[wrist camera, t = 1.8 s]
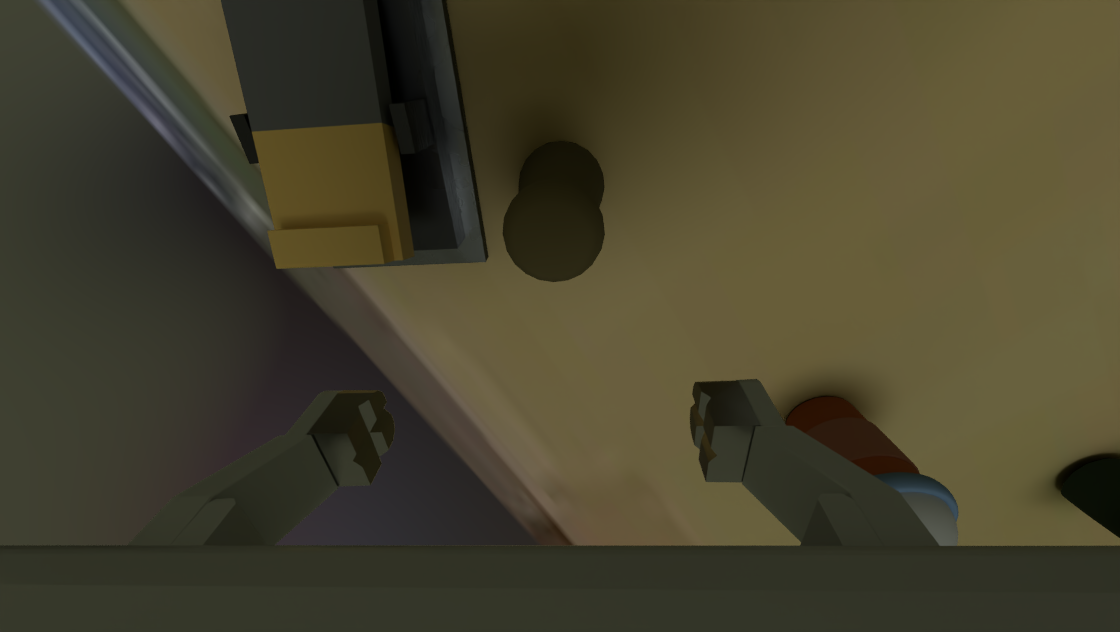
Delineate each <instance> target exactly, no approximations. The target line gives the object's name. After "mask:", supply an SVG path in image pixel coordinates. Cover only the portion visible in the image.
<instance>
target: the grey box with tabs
mask: <svg viewBox="0 0 1120 632" xmlns="http://www.w3.org/2000/svg"><path fill="white" fill-rule="evenodd" d="M377 4H378V11H379V18H380V25H381V31H382V38H383V45H384V52H385V59H386V65H387V72H388V79H389V86H390V93H391V99H392V104H389V108H390V112H391V116H392V120H393V124H394V128H395V132H396V136H397V140H398V147H399V154H400V161H401V167H402V174H403V181H404V188H405V195H406V201H407V208H408V215H409V222H410V229H411V235H412V242H413V249H414V257H411V258H408V259H405V260H397V261H392V262H389V263H386V264H372V265H349V266H333V267H334V268H355V267H378V266H401V265H424V264H448V263H471V262H486V261H487V259H488V251H487V245H486V239H485V233H484V227H483V221H482V215H481V209H480V203H479V197H478V191H477V184H476V178H475V172H474V166H473V160H472V154H471V148H470V142H469V136H468V130H467V124H466V118H465V112H464V106H463V100H462V94H461V88H460V82H459V76H458V69H457V63H456V57H455V51H454V45H453V39H452V33H451V27H450V21H449V15H448V9H447V3H446V0H377ZM230 119H231V121H232V123H233V126H234V128H235V130H236V133H237V135H238V137H239V140H240V142H241V144H242V147H243V149H244V151H245V154H246V156H247V158H248V161H249V163H250V164H254V163H259V160H258V156H257V152H256V148H255V143H254V139H253V135H252V130H251V126H250V122H249V118H248V113H245V114H238V115H231V116H230Z"/></svg>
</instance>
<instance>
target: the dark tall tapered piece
mask: <svg viewBox="0 0 1120 632" xmlns="http://www.w3.org/2000/svg"><path fill="white" fill-rule="evenodd" d="M603 192H604V179H603V173H602V170H601V168H600V166H599V164H598V161H597V160H596V159H595V158H594V157H593V155H592V154H591V153H590V152H589V151H588V150H586V149H585V148H583V147H581V146H579V145H577V144H576V143H571V142H565V141H558V142H552V143H547V144H545V145H543V146H541V147H540V148H538V149H536V150H535V151H534V152H533V153H532V154H531V155H530V156H529V157H528V158H527V159H526V161H525V163H524V165H523V168H522V170H521V172H520V179H519V194H518V195H517V196H516V197H515V198H514V199H513V200H512V202H511V203H510V205H509V208H508V210H507V212H506V214H505V217H504V224H503V236H504V241H505V245H506V249H507V252H508V253H509V255H510V257H511V258H512V260H513V262H514V263H515V264H516V265H517V266H518V267H519V268H520V269H521V270H522V271H524V272H525V273H526V274H528V275H530V276H532V277H534V278H536V279H539V280H544V281H550V282H557V281H565V280H569V279H572V278H574V277H576V276H578V275H581V274H582V273H583V272H584V271H585V270H587V269H588V268H589V267H590V266H591V265H592V264H593V262H594V261H595V259H596V257H597V256H598V254H599V252H600V251H601V249H602V244H603V240H604V235H605V232H604V223H603V216H602V213H601V211H600V209H599V207H600V204H601V201H602V196H603Z"/></svg>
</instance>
